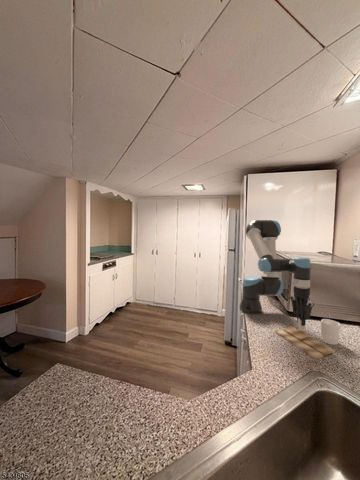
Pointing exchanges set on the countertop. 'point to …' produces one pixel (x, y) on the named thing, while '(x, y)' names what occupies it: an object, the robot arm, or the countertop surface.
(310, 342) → the plank
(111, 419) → the countertop surface
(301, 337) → the plank
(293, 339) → the laid board
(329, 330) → the white cup
